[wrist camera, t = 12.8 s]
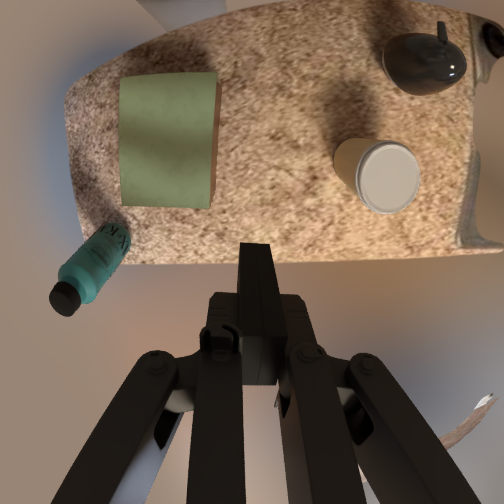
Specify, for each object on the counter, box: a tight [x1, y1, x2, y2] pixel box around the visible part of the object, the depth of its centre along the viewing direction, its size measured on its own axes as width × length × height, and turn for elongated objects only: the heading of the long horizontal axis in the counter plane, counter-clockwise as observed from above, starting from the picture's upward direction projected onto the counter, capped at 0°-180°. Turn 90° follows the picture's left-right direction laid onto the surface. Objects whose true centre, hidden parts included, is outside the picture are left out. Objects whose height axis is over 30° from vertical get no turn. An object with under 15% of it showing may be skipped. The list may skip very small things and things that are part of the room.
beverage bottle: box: [49, 223, 131, 317], centre depth 35 cm, size 6×7×20 cm
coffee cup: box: [333, 138, 420, 214], centre depth 34 cm, size 9×9×12 cm
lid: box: [119, 72, 218, 209], centre depth 29 cm, size 17×12×1 cm
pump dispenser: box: [382, 21, 467, 96], centre depth 25 cm, size 10×10×15 cm
